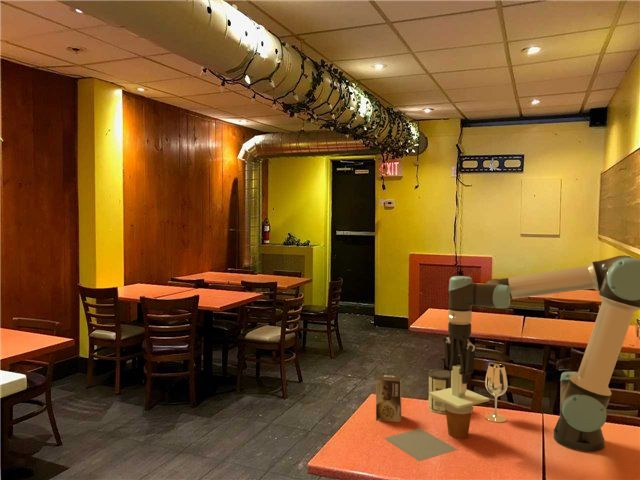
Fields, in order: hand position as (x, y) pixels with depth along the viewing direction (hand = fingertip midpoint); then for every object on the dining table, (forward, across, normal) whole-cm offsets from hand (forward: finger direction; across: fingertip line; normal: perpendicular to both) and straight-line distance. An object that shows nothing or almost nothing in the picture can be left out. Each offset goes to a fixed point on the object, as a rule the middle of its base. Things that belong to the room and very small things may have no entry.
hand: (458, 390), depth 169 cm
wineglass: (+16, -5, +24) cm, 29 cm away
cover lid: (+3, 0, 0) cm, 3 cm away
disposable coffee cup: (+16, 0, 0) cm, 16 cm away
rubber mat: (+16, -1, -16) cm, 23 cm away
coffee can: (+16, -22, +13) cm, 30 cm away
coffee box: (+16, -23, -12) cm, 31 cm away
